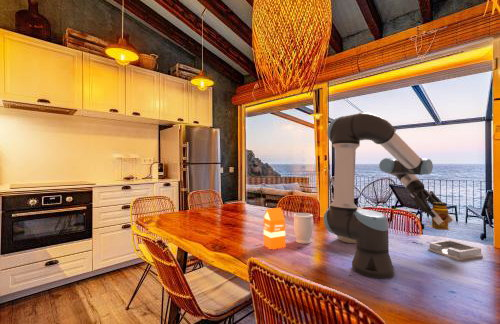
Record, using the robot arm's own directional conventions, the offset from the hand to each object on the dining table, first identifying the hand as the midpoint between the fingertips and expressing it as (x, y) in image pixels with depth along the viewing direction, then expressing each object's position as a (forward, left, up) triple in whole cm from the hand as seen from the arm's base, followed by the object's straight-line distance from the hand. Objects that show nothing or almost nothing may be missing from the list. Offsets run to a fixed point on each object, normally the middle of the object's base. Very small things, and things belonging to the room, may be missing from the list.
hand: (446, 222), depth 113 cm
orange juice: (-70, +37, -15) cm, 81 cm away
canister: (-27, +32, -15) cm, 45 cm away
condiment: (0, +4, -4) cm, 5 cm away
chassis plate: (+6, +1, -15) cm, 16 cm away
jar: (-52, +40, -15) cm, 67 cm away
